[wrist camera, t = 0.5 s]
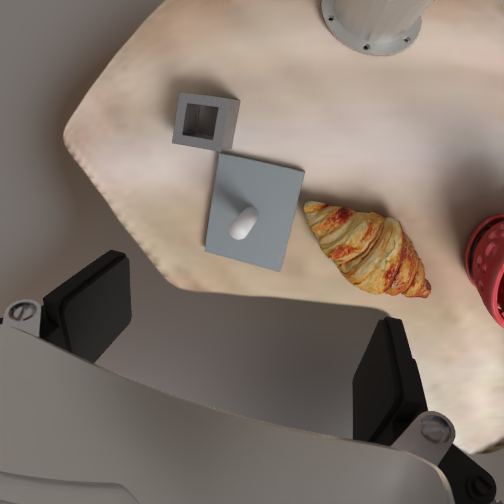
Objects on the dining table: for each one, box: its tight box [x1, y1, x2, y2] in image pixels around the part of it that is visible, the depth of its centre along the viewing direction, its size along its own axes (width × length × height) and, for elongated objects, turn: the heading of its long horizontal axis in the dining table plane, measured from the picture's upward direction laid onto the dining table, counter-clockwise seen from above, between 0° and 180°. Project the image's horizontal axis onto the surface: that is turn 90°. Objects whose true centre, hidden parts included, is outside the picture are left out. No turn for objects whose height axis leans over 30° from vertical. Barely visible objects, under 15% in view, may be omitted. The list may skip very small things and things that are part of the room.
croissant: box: [304, 201, 431, 298], centre depth 39 cm, size 21×10×8 cm, turn 61°
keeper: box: [205, 153, 305, 272], centre depth 40 cm, size 14×11×8 cm
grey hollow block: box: [172, 92, 240, 152], centre depth 38 cm, size 6×6×4 cm
